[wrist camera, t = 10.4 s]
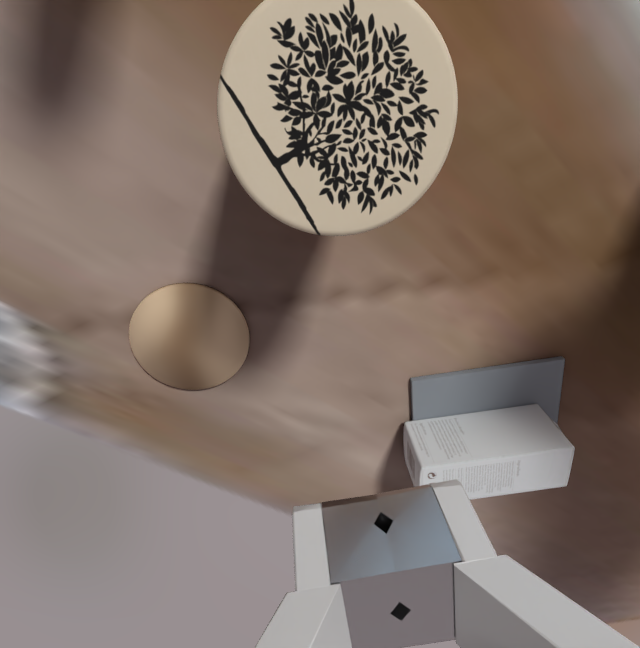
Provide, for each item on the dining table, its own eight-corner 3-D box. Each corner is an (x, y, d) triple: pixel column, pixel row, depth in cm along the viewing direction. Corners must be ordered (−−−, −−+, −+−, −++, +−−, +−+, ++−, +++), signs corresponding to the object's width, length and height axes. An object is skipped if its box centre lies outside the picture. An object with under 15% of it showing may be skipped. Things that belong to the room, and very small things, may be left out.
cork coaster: (237, 275, 35) (237, 276, 35) (258, 378, 39) (258, 381, 39) (115, 291, 35) (113, 293, 35) (148, 394, 39) (147, 397, 39)
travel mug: (341, 13, 29) (423, -97, 13) (385, 142, 32) (494, 186, 16) (222, 71, 30) (156, 36, 13) (277, 191, 33) (277, 280, 17)
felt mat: (561, 356, 41) (564, 359, 40) (550, 457, 45) (552, 460, 45) (410, 377, 40) (411, 381, 40) (414, 477, 45) (415, 481, 45)
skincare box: (419, 509, 38) (570, 493, 38) (419, 465, 36) (578, 449, 36) (402, 456, 44) (534, 442, 44) (402, 415, 42) (540, 401, 42)
